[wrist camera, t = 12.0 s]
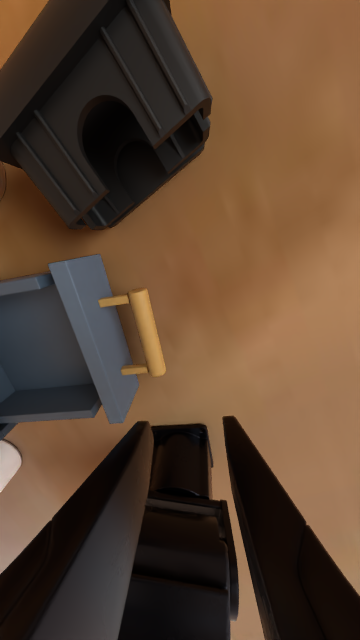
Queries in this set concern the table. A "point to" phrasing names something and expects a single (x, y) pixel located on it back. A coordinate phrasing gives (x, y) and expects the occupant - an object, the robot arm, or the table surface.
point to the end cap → (102, 106)
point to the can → (8, 462)
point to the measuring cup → (2, 180)
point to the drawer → (70, 345)
